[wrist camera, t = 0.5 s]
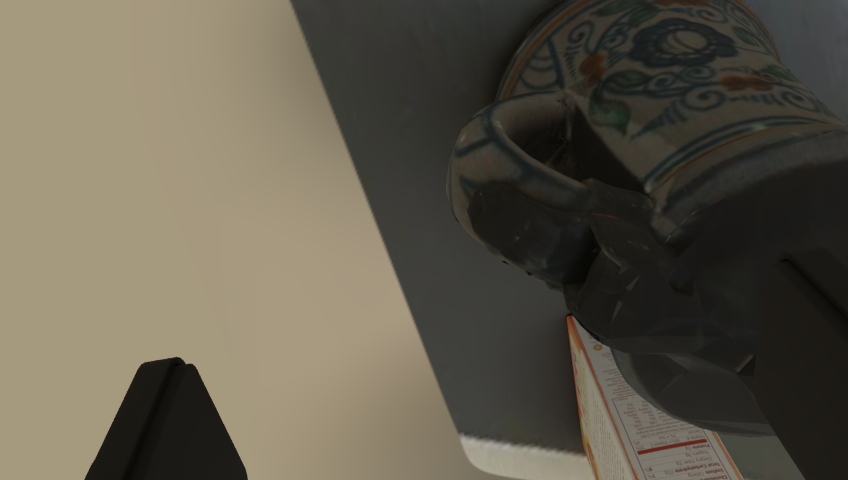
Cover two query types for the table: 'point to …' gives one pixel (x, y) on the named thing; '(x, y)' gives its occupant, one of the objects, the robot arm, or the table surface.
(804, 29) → the table surface
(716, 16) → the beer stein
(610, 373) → the cracker box
